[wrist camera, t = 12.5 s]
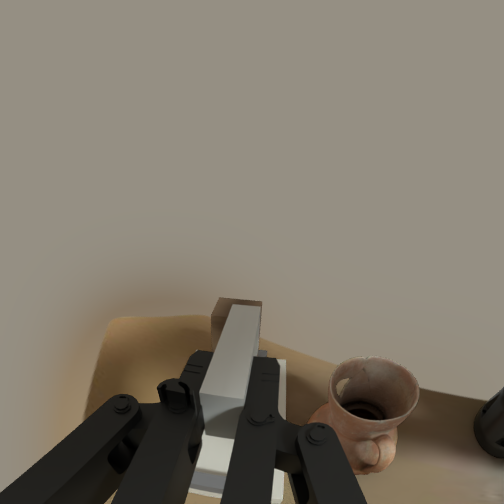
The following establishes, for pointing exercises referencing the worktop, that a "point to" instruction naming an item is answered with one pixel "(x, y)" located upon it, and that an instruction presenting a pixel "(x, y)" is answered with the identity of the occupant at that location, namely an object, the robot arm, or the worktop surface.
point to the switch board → (219, 453)
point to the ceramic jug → (369, 409)
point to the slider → (226, 316)
